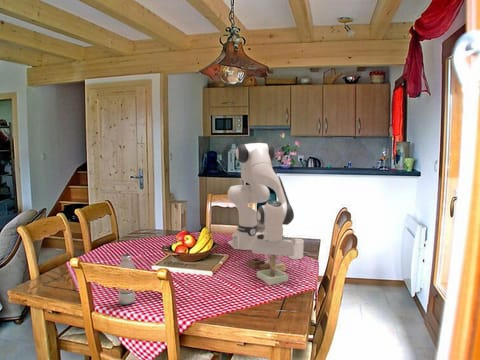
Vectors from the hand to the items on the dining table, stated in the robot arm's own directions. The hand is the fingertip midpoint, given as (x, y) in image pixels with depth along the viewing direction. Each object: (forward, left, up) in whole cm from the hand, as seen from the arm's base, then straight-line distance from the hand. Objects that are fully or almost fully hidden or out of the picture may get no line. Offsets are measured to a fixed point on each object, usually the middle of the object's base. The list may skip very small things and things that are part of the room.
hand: (272, 263), depth 183 cm
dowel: (0, 0, -6) cm, 6 cm away
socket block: (-18, +2, -8) cm, 20 cm away
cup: (-24, +31, -8) cm, 40 cm away
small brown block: (-11, +3, -8) cm, 14 cm away
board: (-11, +9, -8) cm, 16 cm away
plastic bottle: (-5, -68, -8) cm, 69 cm away
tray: (0, 0, -8) cm, 8 cm away
